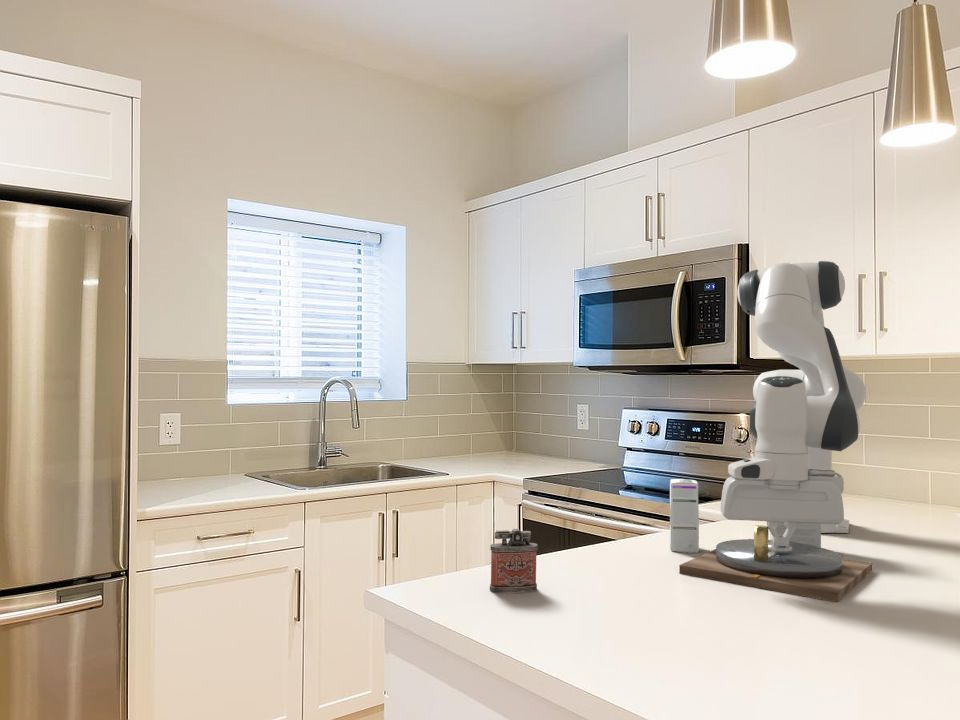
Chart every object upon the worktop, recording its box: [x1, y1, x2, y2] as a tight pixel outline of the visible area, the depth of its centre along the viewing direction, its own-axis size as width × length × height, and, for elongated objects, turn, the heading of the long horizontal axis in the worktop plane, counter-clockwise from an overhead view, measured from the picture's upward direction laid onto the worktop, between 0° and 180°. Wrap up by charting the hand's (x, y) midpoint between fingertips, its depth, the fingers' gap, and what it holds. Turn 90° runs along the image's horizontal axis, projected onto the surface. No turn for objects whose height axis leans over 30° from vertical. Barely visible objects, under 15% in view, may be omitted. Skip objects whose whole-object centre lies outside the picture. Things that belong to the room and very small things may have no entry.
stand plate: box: [678, 548, 873, 603], centre depth 141 cm, size 27×27×2 cm
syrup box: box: [669, 478, 700, 554], centre depth 159 cm, size 6×6×14 cm
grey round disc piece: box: [715, 524, 844, 578], centre depth 141 cm, size 22×22×8 cm
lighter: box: [489, 528, 539, 594], centre depth 126 cm, size 8×3×10 cm, turn 102°
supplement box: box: [769, 522, 822, 548], centre depth 160 cm, size 10×9×17 cm
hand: (780, 547), depth 132 cm, fingers closed
